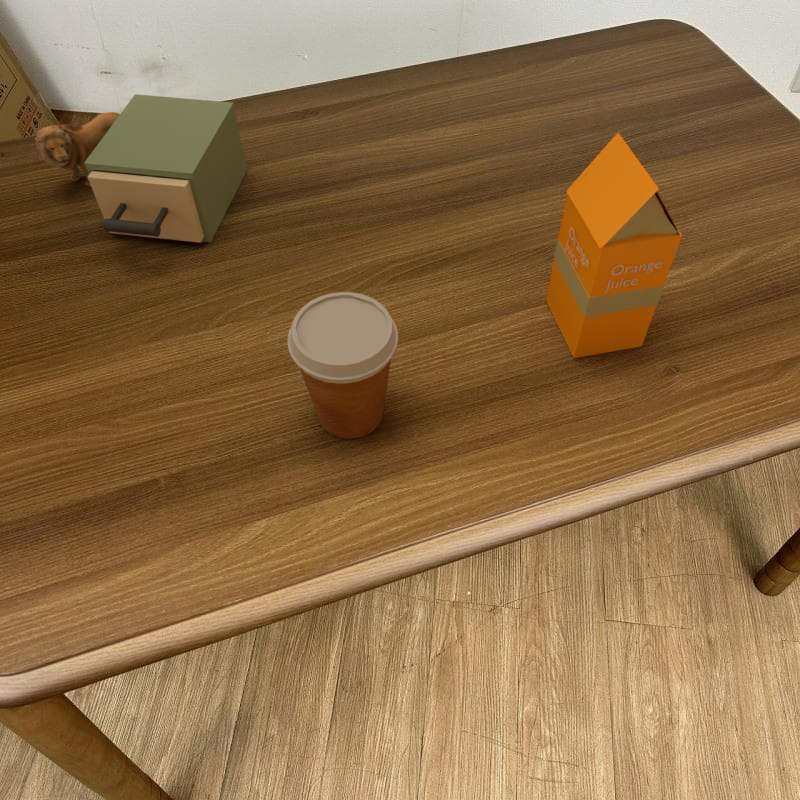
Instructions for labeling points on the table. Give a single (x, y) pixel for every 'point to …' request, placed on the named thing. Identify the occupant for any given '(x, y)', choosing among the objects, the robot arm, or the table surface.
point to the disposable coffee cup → (345, 359)
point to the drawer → (147, 206)
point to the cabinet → (178, 149)
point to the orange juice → (610, 255)
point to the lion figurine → (73, 143)
